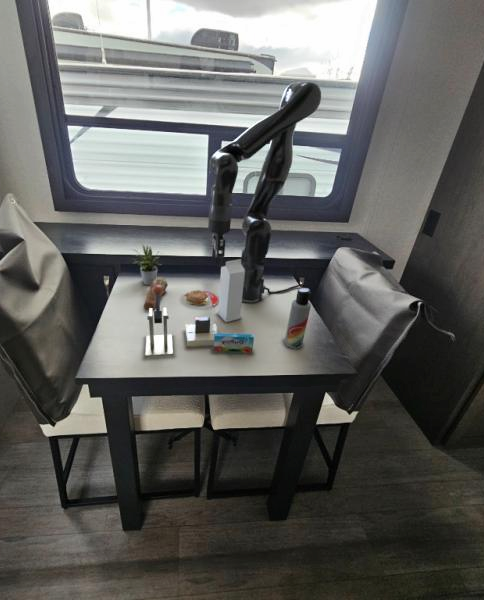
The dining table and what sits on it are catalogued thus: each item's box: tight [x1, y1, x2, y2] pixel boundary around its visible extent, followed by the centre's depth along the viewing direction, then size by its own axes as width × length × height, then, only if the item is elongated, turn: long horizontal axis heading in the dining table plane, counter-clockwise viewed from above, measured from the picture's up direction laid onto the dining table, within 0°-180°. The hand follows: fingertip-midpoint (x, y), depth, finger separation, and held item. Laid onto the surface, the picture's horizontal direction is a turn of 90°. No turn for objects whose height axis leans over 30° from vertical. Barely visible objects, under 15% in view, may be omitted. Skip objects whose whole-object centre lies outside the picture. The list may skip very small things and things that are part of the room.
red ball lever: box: [152, 285, 163, 324], centre depth 95 cm, size 13×3×3 cm, turn 10°
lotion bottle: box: [284, 287, 312, 349], centre depth 98 cm, size 6×6×20 cm
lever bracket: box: [144, 307, 174, 357], centre depth 94 cm, size 10×8×13 cm
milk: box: [217, 258, 245, 323], centre depth 110 cm, size 6×6×22 cm
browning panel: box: [184, 322, 219, 347], centre depth 101 cm, size 10×9×3 cm
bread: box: [143, 276, 168, 311], centre depth 121 cm, size 6×19×6 cm, turn 175°
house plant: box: [131, 243, 163, 286], centre depth 132 cm, size 14×14×16 cm
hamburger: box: [183, 289, 219, 307], centre depth 123 cm, size 14×14×6 cm
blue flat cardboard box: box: [212, 332, 255, 354], centre depth 96 cm, size 12×2×6 cm, turn 93°
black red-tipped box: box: [194, 316, 211, 334], centre depth 99 cm, size 5×2×5 cm, turn 100°
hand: (216, 261), depth 114 cm, fingers open, 8 cm apart
